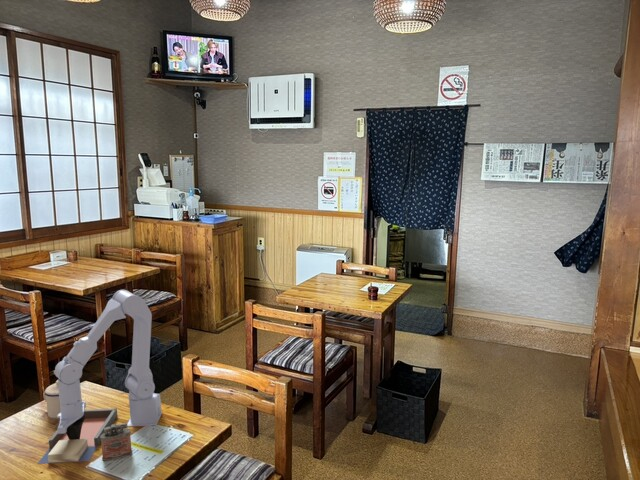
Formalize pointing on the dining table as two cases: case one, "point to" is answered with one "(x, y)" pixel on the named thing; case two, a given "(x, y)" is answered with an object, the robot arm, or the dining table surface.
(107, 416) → the grey and pink tray
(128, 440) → the lighter
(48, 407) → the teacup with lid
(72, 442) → the slab
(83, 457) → the indigo mat
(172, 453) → the dining table surface
